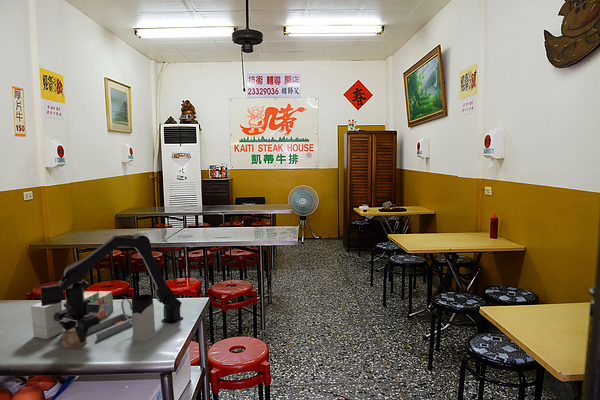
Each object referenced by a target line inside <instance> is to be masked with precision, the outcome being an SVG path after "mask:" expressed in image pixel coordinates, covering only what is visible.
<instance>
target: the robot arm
mask: <svg viewBox="0 0 600 400" xmlns="http://www.w3.org/2000/svg"><path fill="white" fill-rule="evenodd" d="M119 247H127V248H134V249H135V250H136V252H137V253H138V254H139V255H140V256H141V258H142V259H143V262H144V264H145V266H146V269H147V271H148V273H149V275H150V277H151V279H152V281H153V284H154V285H155V289H154V290H153V291H152V293H153V294H154V295H155V299H156V300H157V301H158V302H159V304H162V305H163V319H161V322H162V323H163V322H164V323H168V324H172V325H173V324H175V323H177V322H178V321H180V320H183V319H184V316H181V307H182V303H183V302H182V301H181V300H179V299H178V297H176V296H177V295H175V293H174V291H173V290H172V289H171V288H170V287H169V286H168V283H167V282H166V281H165V279H164V277H163V275H162V272H161V270H160V268H159V265H158V263H157V261H156V259H155V257H154V255H153V251H152V245H151V240H150V239H149V237H148V236H147V235H145V234H143V233H135V234H133V235H131V234H130V235H129V234H126V235H125V234H114V235H112V236H111V237H110V239H108V240H107V241H105V242H104V243H103V244H101V245H100V246H99V247H98V248H96V249H95V250H93V251H92V252H91V253H90V254H88V255H87V256H86V257H84V258H82V259H80V260H78V261H76V262H73V263H71V264H70V265H67V267H65V268H64V270H63V276H62V277H61V278H60V280H59V281H58V284H53V285H43V286H41V287H40V291H41V293H40V302H41V304H42V306H47V305H52V304H57V303H60V302H61V303H62V302H63V300H64V299H65V302H66V303H65V302H64V303H63V308H65V307H67V309H62V311H59V312H56V313H55V315H54V321H60V320H61V322H59V324H61V326H62V327H63V328H64V331H66V330H68V329H71V328H73V327H75V330H76V332H77V334H78V337H79V339H80V341H81V343H83V342H85V339H86V338H87V336H88V335H87V332H88V330H89V328H90V327H92V326H94V325H97V324H99V323H100V322H101V319H100V318H99V317H97V316H94V315H89V316H87V317H84V315H88V314H89V312H96V313H98V312H99V308H100V304H97V303H92V302H90V300H87V299H84V292H85V290H84V288H87V287H89V286H90V284H89V282H88V281H86V280H85V279H84V278H85V277H86V276H87V275H88V273H89V272H90V271H91V269H93V267H94V266H96V265H97V264H98V263H99V262H101V261H102V260H103V259H105V258H106V257H107V256H109V254H111V253H112V252H113V251H115V250H117V249H118V248H119ZM64 291H65V292H64ZM64 293H65V296H64ZM77 321H78V322H77ZM76 322H77V325H78V326H77V327H76Z"/></svg>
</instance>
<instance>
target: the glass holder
mask: <svg viewBox="0 0 600 400" xmlns="http://www.w3.org/2000/svg"><path fill="white" fill-rule="evenodd" d="M124 301H127V302H128V303H129V308H130V310H131V315H132V322H131V321H130V320H129V318H128V317H127V316H126V314H127V313H126V312H125V307H124ZM121 310H122V313H123V314H124V316H125V318H126V319H127V320H128V321H129V322H130V323H131V324H132V325H131V326H132V336H131V339H132V340H134V341H146V340H150V339H153V338H154V337H155V336H156V335H157V331H156V328H155V327H156V326H155V325H156V324H155V323H156V322H155V306H154V296H153V295H152V294H139V295H136V296H133V297H132V298H131V300H130V299H128V298H125V299H123V300H122V301H121ZM125 313H126V314H125Z"/></svg>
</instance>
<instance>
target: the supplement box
mask: <svg viewBox="0 0 600 400" xmlns="http://www.w3.org/2000/svg"><path fill="white" fill-rule="evenodd" d="M30 309H31V310H30V311H31V320H32V321H31V322H32V330H33V338H38V339H45V340H48V339H51V338H52V337H55V336H57V335H59V334H62V332H63V331H65V330H64V328H63V327H62V326H61V324H59V322H61V320H60V321H54V315H55V313H56V312H59V311H62V310H63V305H62V301H61V302H60V303H57V304H52V305H47V306H42V304H41V301H40V302H38V303H36V304H31V305H30Z"/></svg>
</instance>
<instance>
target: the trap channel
mask: <svg viewBox="0 0 600 400" xmlns="http://www.w3.org/2000/svg"><path fill="white" fill-rule="evenodd" d="M125 314H126V316H127V317H128V318H129V320H130V321H131V322H132V314H129V313H126V312H125ZM108 326H111V327H108ZM132 326H133V325H132V324H131V323H130V322H129V321H128V320H127V319H126V318H125V316H124V314H123V312H122V313H119V314H116V315H114V316H112V317H109V318H107V319H104V320H102V321H101V320H100V323H99V324H97V325H94V326H92V327H90V328H89V330H88V332H87V336H88V335H90V334H92V333H95V332H97V331H99V330H101V331H99V332H97V333H95V334H96V341H100V340H103V339H105V338H106V337H109V336H111V335H114V334H116V333H118V332H120V331H122V330H124V329H126V328H127V329H128V328H129V327H132ZM106 327H108V328H106ZM104 328H105V329H104ZM102 329H103V330H102Z"/></svg>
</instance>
